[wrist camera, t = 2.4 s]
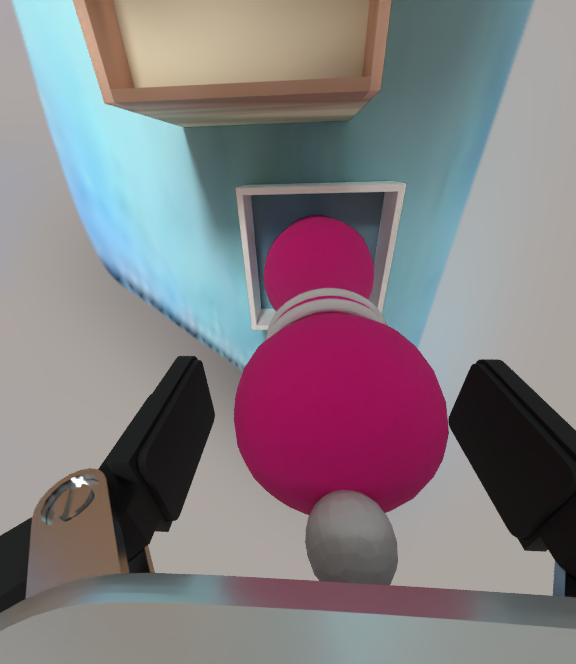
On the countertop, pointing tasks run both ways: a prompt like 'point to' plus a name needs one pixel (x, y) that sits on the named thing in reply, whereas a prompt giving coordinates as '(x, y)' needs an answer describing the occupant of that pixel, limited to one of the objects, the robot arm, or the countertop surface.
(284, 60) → the wooden box
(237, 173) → the countertop surface
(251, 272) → the collar
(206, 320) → the countertop surface
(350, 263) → the pepper mill
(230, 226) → the countertop surface
